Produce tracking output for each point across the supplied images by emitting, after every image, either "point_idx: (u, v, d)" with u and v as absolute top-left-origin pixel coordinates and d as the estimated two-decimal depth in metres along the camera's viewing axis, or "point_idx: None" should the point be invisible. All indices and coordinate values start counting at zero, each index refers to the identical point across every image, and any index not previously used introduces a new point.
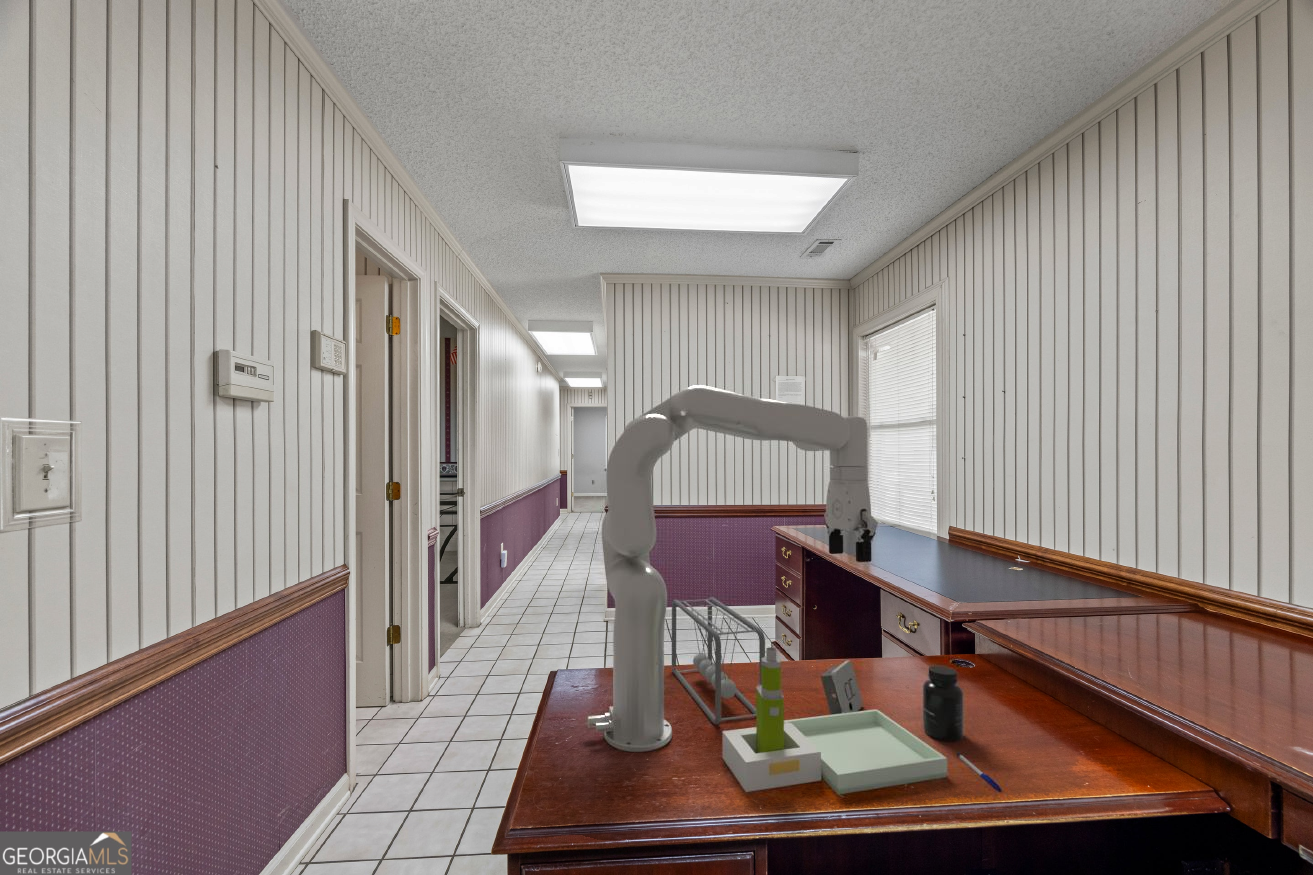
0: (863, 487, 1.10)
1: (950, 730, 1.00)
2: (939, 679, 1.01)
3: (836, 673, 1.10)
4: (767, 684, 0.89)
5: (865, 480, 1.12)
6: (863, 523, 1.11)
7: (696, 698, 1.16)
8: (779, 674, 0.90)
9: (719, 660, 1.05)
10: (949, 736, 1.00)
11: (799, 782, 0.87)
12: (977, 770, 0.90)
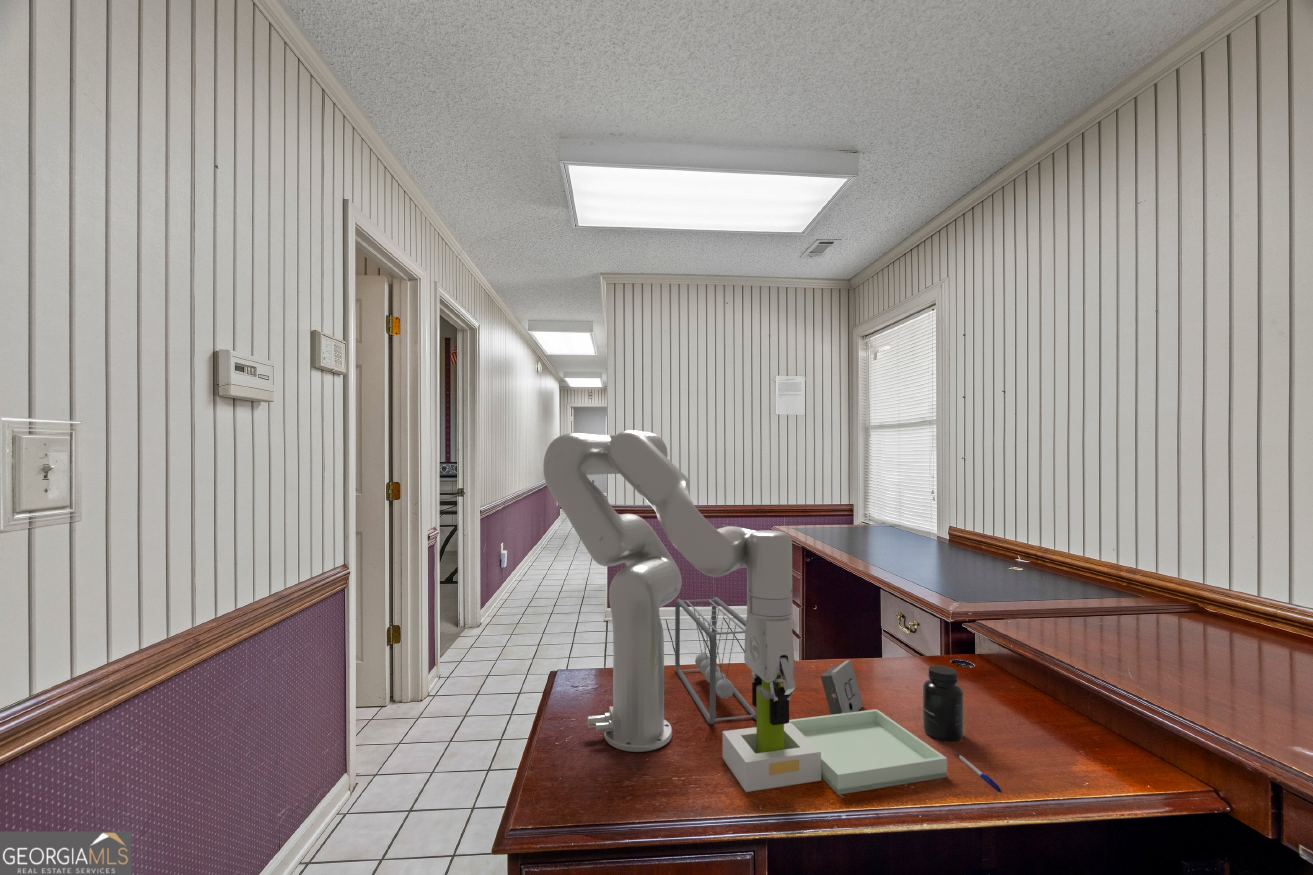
0: (783, 626, 0.88)
1: (950, 730, 1.00)
2: (939, 679, 1.01)
3: (836, 673, 1.10)
4: (767, 684, 0.89)
5: (788, 615, 0.89)
6: None
7: (694, 697, 1.16)
8: None
9: (713, 660, 1.05)
10: (949, 736, 1.00)
11: (799, 782, 0.87)
12: (977, 770, 0.90)
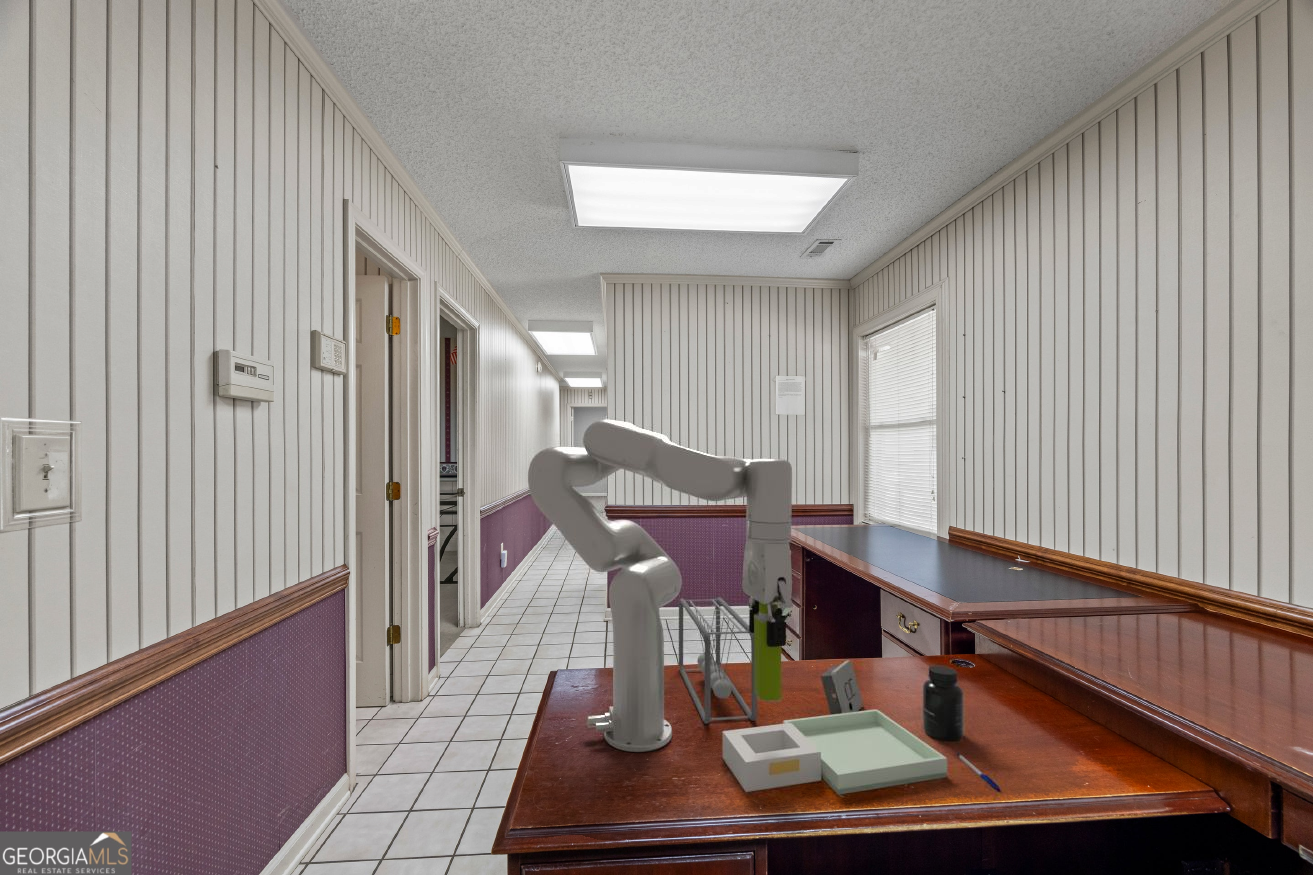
0: (782, 549, 0.88)
1: (950, 730, 1.00)
2: (939, 679, 1.01)
3: (836, 673, 1.10)
4: (764, 608, 0.90)
5: (786, 540, 0.90)
6: None
7: (693, 697, 1.17)
8: (776, 598, 0.90)
9: (708, 659, 1.05)
10: (949, 736, 1.00)
11: (799, 782, 0.87)
12: (977, 770, 0.90)
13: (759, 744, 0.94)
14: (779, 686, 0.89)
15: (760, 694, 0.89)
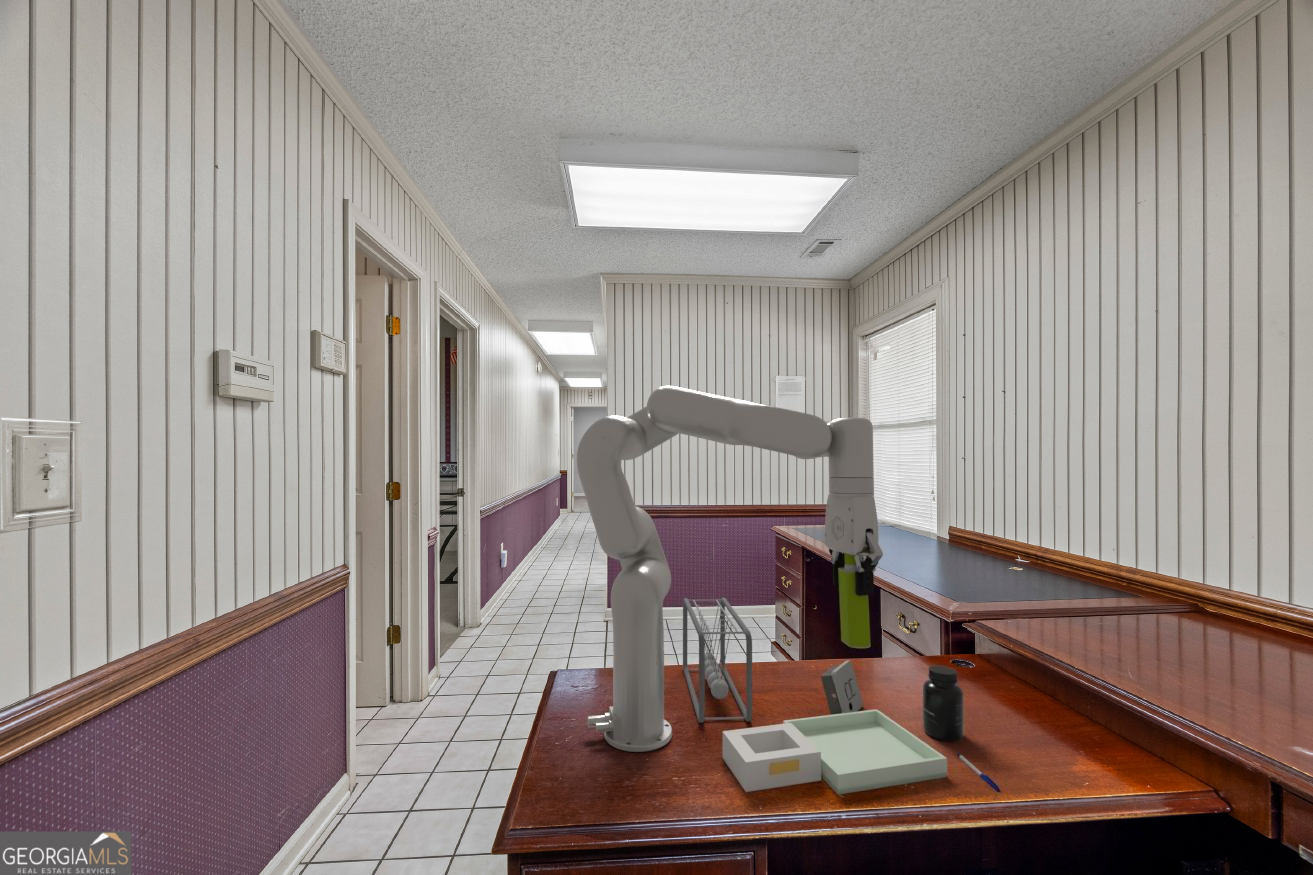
0: (868, 502, 0.92)
1: (950, 730, 1.00)
2: (939, 679, 1.01)
3: (836, 673, 1.10)
4: (851, 559, 0.94)
5: (871, 494, 0.94)
6: None
7: (692, 696, 1.17)
8: (862, 550, 0.94)
9: (702, 659, 1.06)
10: (949, 736, 1.00)
11: (799, 782, 0.87)
12: (977, 770, 0.90)
13: (759, 744, 0.94)
14: (868, 633, 0.93)
15: (850, 642, 0.93)
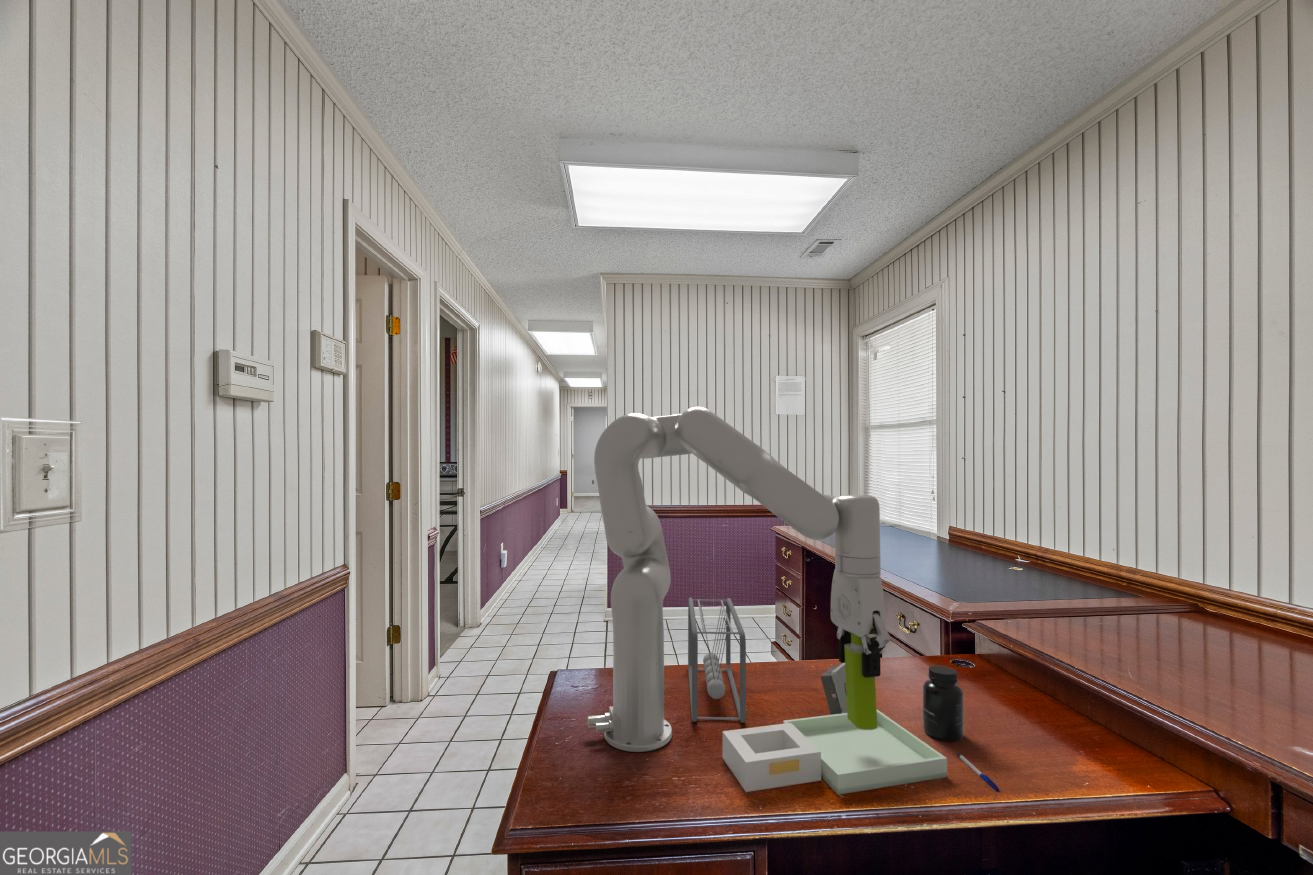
0: (875, 584, 0.92)
1: (950, 730, 1.00)
2: (939, 679, 1.01)
3: (836, 673, 1.10)
4: (858, 639, 0.94)
5: (878, 574, 0.94)
6: None
7: (690, 695, 1.17)
8: None
9: (695, 658, 1.06)
10: (949, 736, 1.00)
11: (799, 782, 0.87)
12: (976, 770, 0.90)
13: (759, 744, 0.94)
14: (875, 715, 0.93)
15: (857, 723, 0.93)
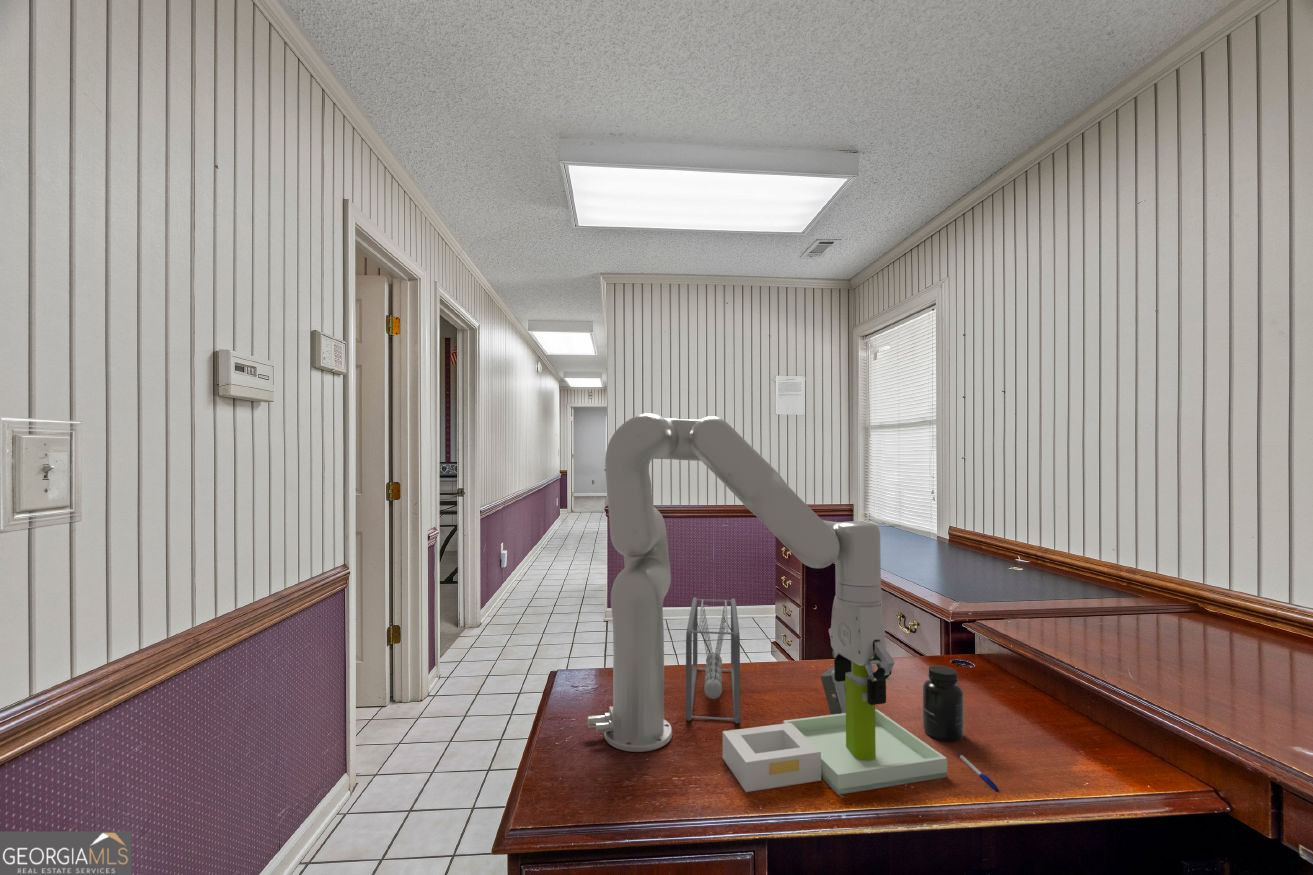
0: (875, 612, 0.92)
1: (950, 730, 1.00)
2: (939, 679, 1.01)
3: None
4: (859, 671, 0.93)
5: (878, 602, 0.93)
6: (876, 654, 0.93)
7: None
8: None
9: (688, 657, 1.07)
10: (949, 736, 1.00)
11: (799, 782, 0.87)
12: (976, 770, 0.90)
13: (759, 744, 0.94)
14: (874, 746, 0.92)
15: (855, 753, 0.93)
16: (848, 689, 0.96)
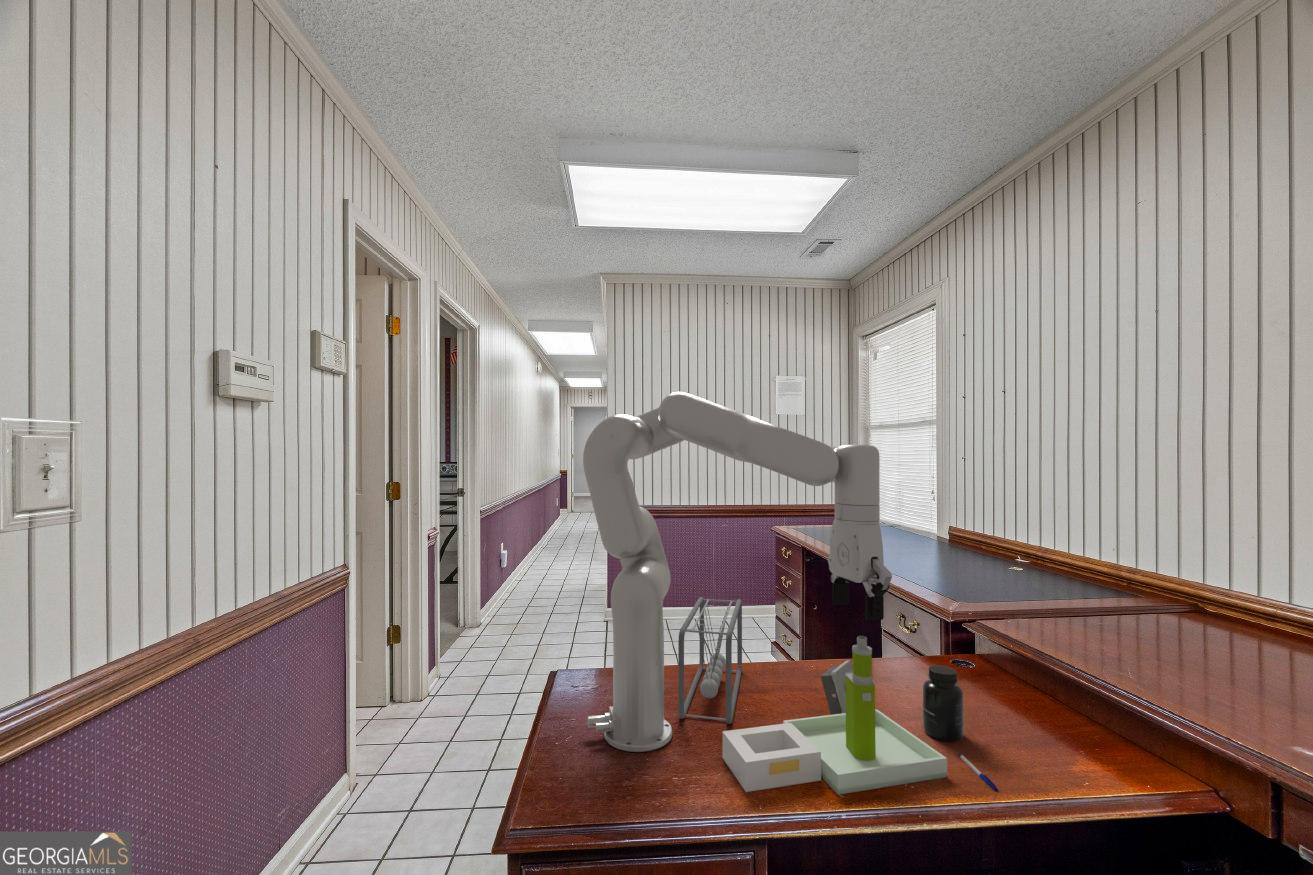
0: (874, 530, 0.92)
1: (950, 730, 1.00)
2: (939, 679, 1.01)
3: (836, 673, 1.10)
4: (859, 671, 0.93)
5: (877, 521, 0.94)
6: (874, 573, 0.93)
7: (688, 693, 1.19)
8: (870, 661, 0.93)
9: (680, 656, 1.07)
10: (949, 736, 1.00)
11: (799, 782, 0.87)
12: (976, 770, 0.90)
13: (759, 744, 0.94)
14: (874, 746, 0.92)
15: (855, 753, 0.93)
16: (848, 689, 0.96)
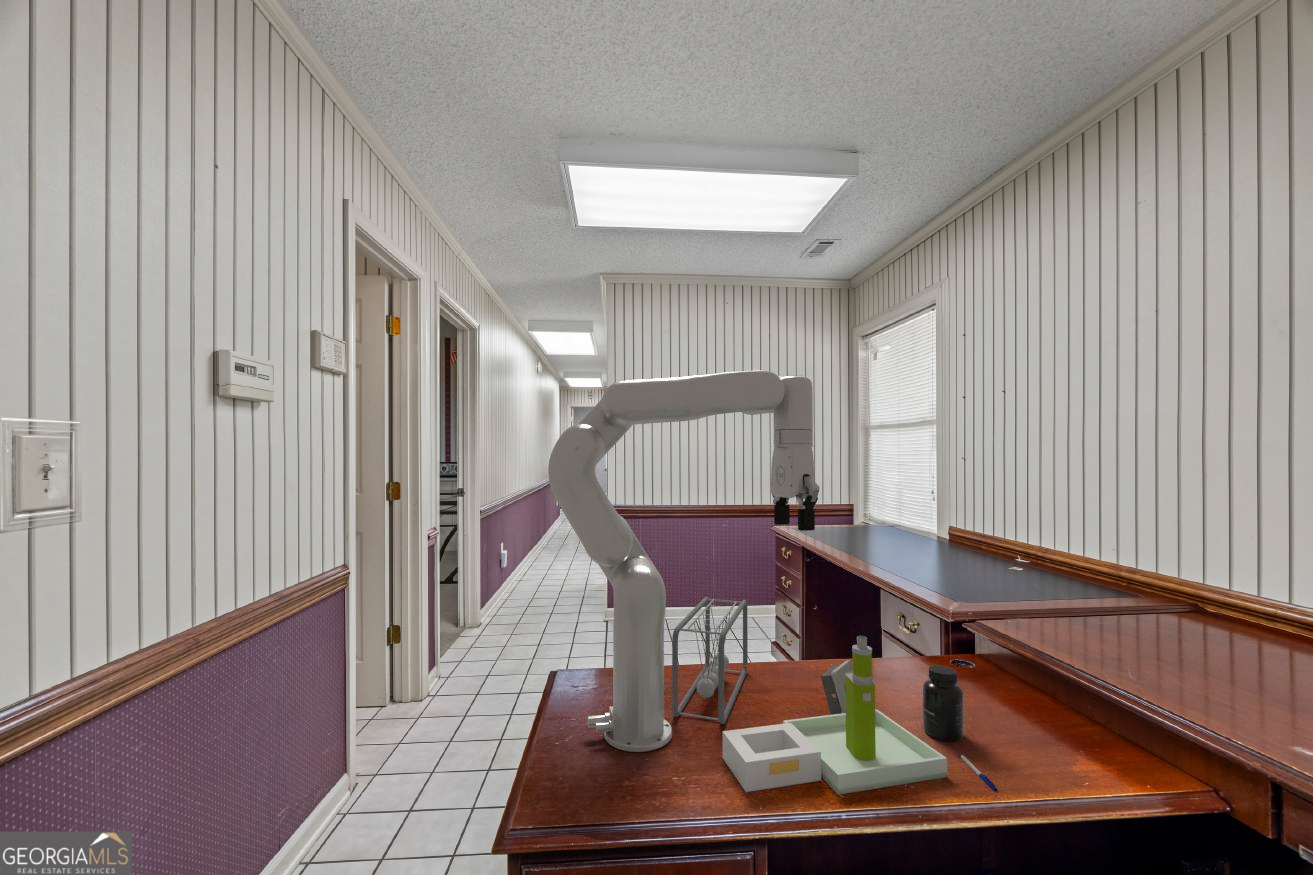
0: (806, 451, 1.03)
1: (950, 730, 1.00)
2: (939, 679, 1.01)
3: (836, 673, 1.10)
4: (859, 671, 0.93)
5: (809, 444, 1.05)
6: (807, 490, 1.04)
7: (687, 692, 1.19)
8: (870, 661, 0.93)
9: (674, 654, 1.08)
10: (949, 736, 1.00)
11: (799, 782, 0.87)
12: (976, 770, 0.90)
13: (759, 744, 0.94)
14: (874, 746, 0.92)
15: (855, 753, 0.93)
16: (848, 689, 0.96)
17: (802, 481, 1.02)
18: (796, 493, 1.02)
